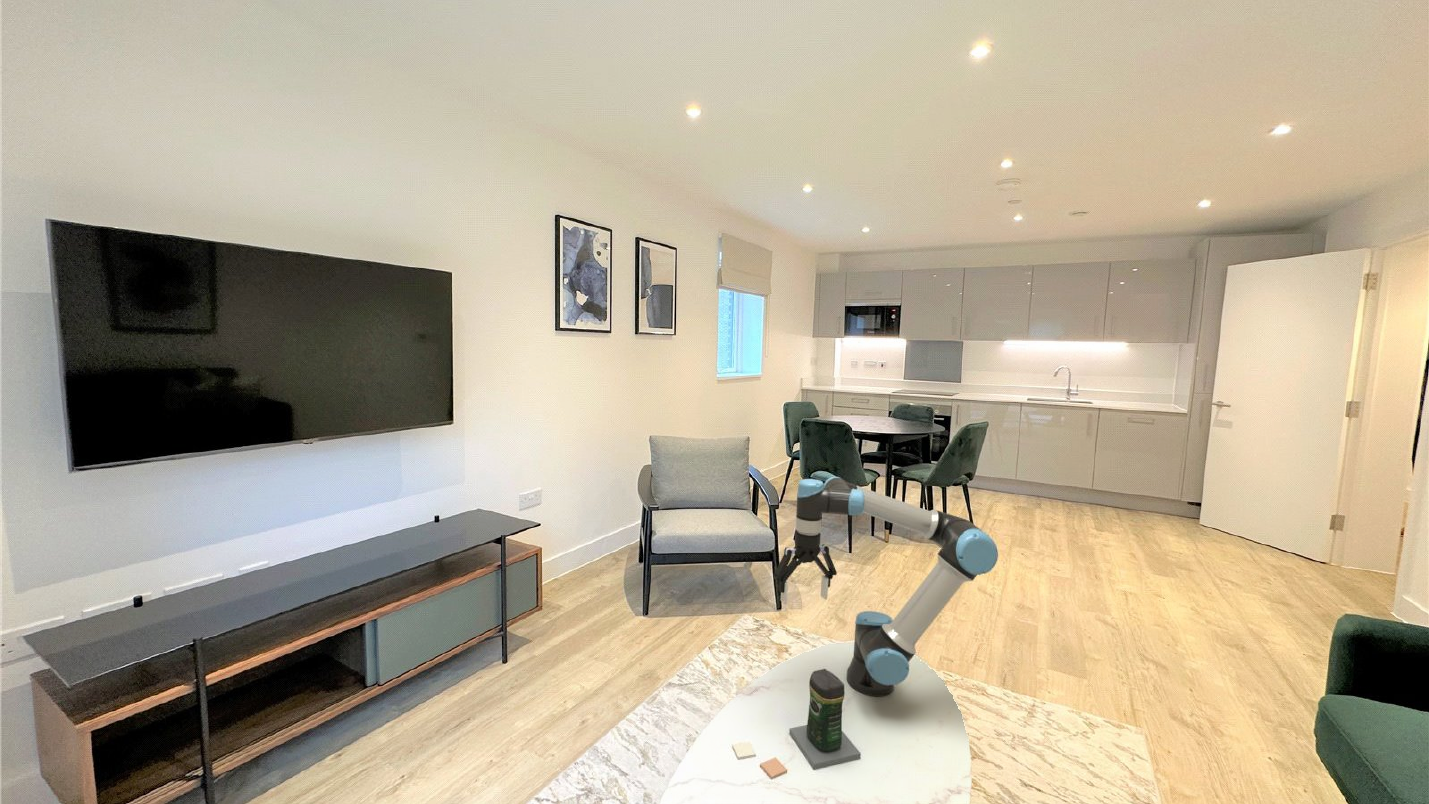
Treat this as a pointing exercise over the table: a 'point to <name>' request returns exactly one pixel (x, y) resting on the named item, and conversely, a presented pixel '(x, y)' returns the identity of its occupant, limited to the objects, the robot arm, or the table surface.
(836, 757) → the slate plate
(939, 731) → the table surface
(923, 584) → the robot arm
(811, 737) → the coffee jar
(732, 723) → the table surface
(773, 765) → the tile
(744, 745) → the tile
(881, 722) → the table surface
